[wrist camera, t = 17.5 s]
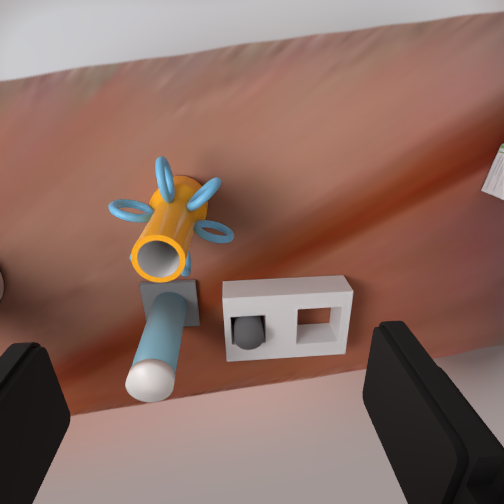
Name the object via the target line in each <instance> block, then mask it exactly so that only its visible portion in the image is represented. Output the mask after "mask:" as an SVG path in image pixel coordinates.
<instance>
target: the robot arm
mask: <svg viewBox="0 0 504 504" xmlns="http://www.w3.org/2000/svg"><path fill="white" fill-rule="evenodd" d="M3 290H4V284H3V278H2V275H1V272H0V300H1V298H2V296H3ZM363 401H364V405H365V407H366V409H367V411H368V414H369V416H370V418H371V421H372V423H373V425H374V427H375V430H376V432H377V434H378V437H379V439H380V441H381V443H382V446H383V448H384V450H385V452H386V455H387V457H388V459H389V462H390V464H391V466H392V468H393V471H394V473H395V475H396V477H397V480H398V482H399V484H400V487H401V489H402V491H403V493H404V496H405V498H406V500H407V502H408V504H504V448H503V446H502V445H501V443H500V442H499V441H498V440H497V438H496V437H495V436H494V434H493V433H492V432H491V431H490V429H489V428H488V427H487V425H486V424H485V423H484V422H483V420H482V419H481V418H480V416H479V415H478V414H477V413H476V411H475V410H474V409H473V407H472V406H471V405H470V404H469V402H468V401H467V400H466V398H465V397H464V396H463V395H462V393H461V392H460V391H459V389H458V388H457V387H456V386H455V384H454V383H453V382H452V380H451V379H450V378H449V377H448V375H447V374H446V373H445V372H444V371H443V370H442V369H441V368H440V367H438V366H437V365H436V363H435V362H434V361H433V359H432V358H431V357H430V356H429V354H428V353H427V352H426V350H425V349H424V348H423V346H422V345H421V344H420V343H419V341H418V340H417V339H416V337H415V336H414V335H413V333H412V332H411V331H410V330H409V328H408V327H407V326H406V324H405V323H404V322H403V321H386V322H381V323H380V324H379V327H375V328H374V331H373V336H372V342H371V347H370V353H369V359H368V365H367V370H366V376H365V382H364V387H363ZM69 424H70V411H69V409H68V406H67V403H66V401H65V398H64V395H63V393H62V390H61V387H60V385H59V382H58V379H57V376H56V374H55V371H54V368H53V366H52V363H51V360H50V358H49V355H48V352H47V350H46V349H45V348H44V347H41V346H40V344H38V343H36V342H32V343H15V344H12V345H11V346H9V347H8V348H7V350H6V351H5V352H4V353H3V354H2V356H1V357H0V504H32V503H33V501H34V499H35V497H36V495H37V493H38V490H39V488H40V486H41V484H42V482H43V480H44V478H45V475H46V474H47V471H48V469H49V467H50V465H51V463H52V461H53V459H54V457H55V454H56V452H57V450H58V448H59V446H60V444H61V442H62V440H63V438H64V435H65V433H66V431H67V429H68V426H69Z"/></svg>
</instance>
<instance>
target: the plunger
mask: <svg viewBox="0 0 504 504" xmlns="http://www.w3.org/2000/svg"><path fill="white" fill-rule="evenodd" d="M234 339H235V343H236V345H237V346H238V347H240V348H241V349H244V350H252V349H256V348H258V347H259V346H260V345H261V344H262V343H263V340H264V335H263V328H262V322H261V315H258V316H241V317H234Z"/></svg>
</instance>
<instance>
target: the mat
mask: <svg viewBox="0 0 504 504" xmlns="http://www.w3.org/2000/svg"><path fill="white" fill-rule="evenodd" d="M139 286H140V291H141V296H142V301H143V306H144V311H145V316H146V322H147V319H148V317H149V314H150V311H151V308H152V305H153V302H154V300H155V298H156V297H157V296H158V295H159V294H161V293H164V292H174V293H177V294H179V295H181V296H182V297H183V298H184V299H185V301H186V303H187V311H186V316H185V322H184V327H189V326H200V317H199V308H198V299H197V290H196V280H195V279H194V280H175V281H168V282H140V284H139Z"/></svg>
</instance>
